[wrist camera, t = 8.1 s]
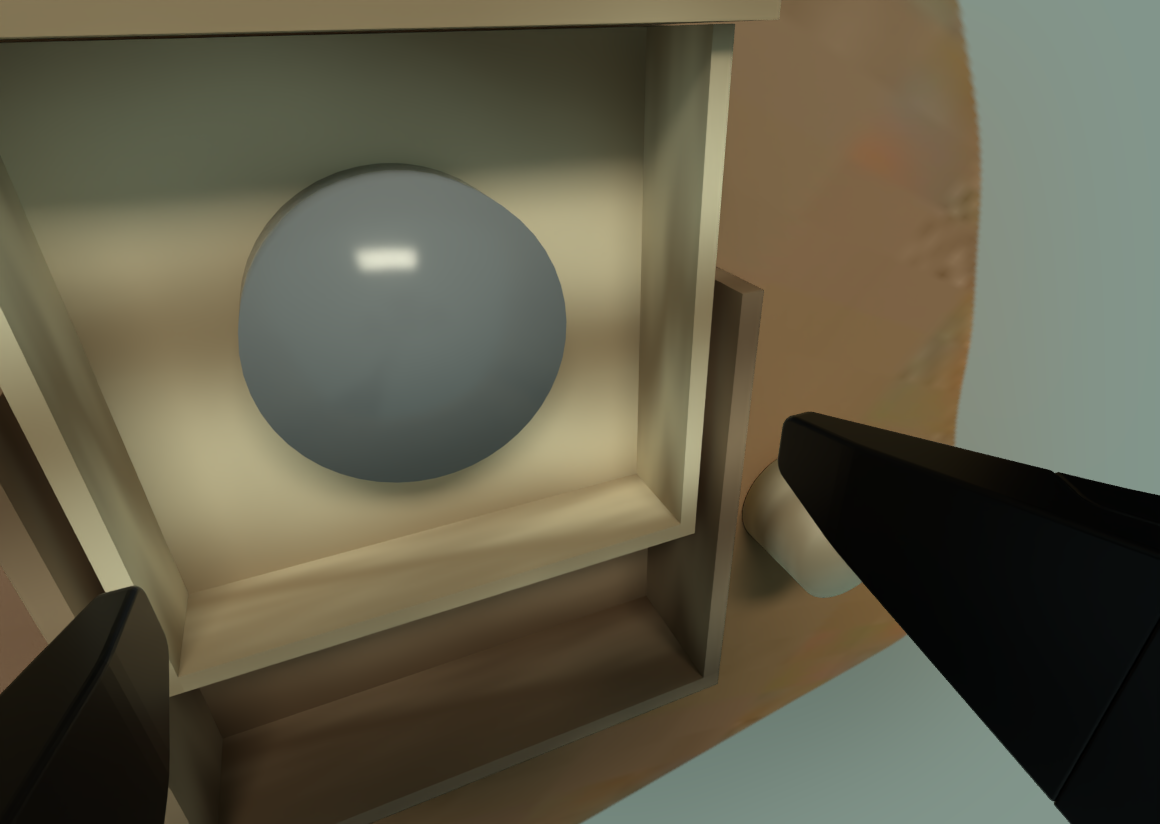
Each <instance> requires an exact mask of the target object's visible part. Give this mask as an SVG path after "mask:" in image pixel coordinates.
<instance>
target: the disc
mask: <svg viewBox="0 0 1160 824" xmlns="http://www.w3.org/2000/svg"><path fill="white" fill-rule="evenodd" d="M566 323H567V320H566V309H565V301H564V296H563V292H562V287H561V283H560V281H559V278H558V275H557V273H556V270H555V267H554V265H553V263H552V262H551V260H550V258H549V256H548V254H547V252H546V250H545V249H544V247H543V246H542V245H541V243H540V242H539V241H538V239H537V238H536V236H535V235H534V234H533V233H532V232H531V231H530V230H529V229H528V228H527V227H526V225H525V224H524V223H523V222H522V221H521V220H520V219H518V218H517V217H516V216H515V215H513V214H512V213H511V212H510V211H508V210H507V209H506V208H505V207H503V206H502V205H500V204H499V203H497V202H496V201H494V200H493V199H491V198H490V197H488V196H487V195H485V194H484V193H482V192H481V191H479V190H478V189H476V188H474V187H473V186H471V185H469V184H468V183H466V182H464V181H462V180H461V179H459V178H456V177H454V176H451V175H449V174H447V173H444V172H442V171H438V170H435V169H431V168H427V167H424V166H418V165H411V164H403V163H378V164H370V165H363V166H357V167H353V168H350V169H346V170H343V171H339V172H336V173H334V174H332V175H329V176H327V177H325V178H323V179H320V180H318V181H316V182H314V183H313V184H311V185H310V186H308V187H306V188H305V189H303V190H302V191H300V192H298V193H297V194H296V195H295V196H294V197H292V198H291V199H290V200H289V201H288V202H286V203H285V204H284V205H283V206H282V207H281V208H280V209H279V210H278V211H277V212H276V213H275V215H274V216H273V217H272V218H271V219H270V220H269V221H268V223H267V224H266V226H265V227H264V229H263V230H262V232H261V233H260V235H259V236H258V238H257V240H256V241H255V243H254V246H253V248H252V250H251V252H250V255H249V257H248V259H247V262H246V266H245V270H244V273H243V277H242V282H241V291H240V301H239V322H238V342H239V356H240V361H241V366H242V371H243V376H244V378H245V381H246V384H247V387H248V389H249V392H250V395H251V397H252V398H253V400H254V402H255V404H256V406H257V407H258V409H259V411H260V413H261V414H262V416H263V417H264V418H265V420H266V421H267V422H268V424H269V425H270V426H271V427H272V429H273V430H274V431H275V432H276V433H277V434H278V435H279V436H280V437H281V438H282V439H283V440H284V441H285V442H286V443H287V444H288V445H290V446H291V447H292V448H294V449H295V450H296V451H298V452H299V453H300V454H302V455H303V456H304V457H306V458H308V459H310V460H312V461H313V462H315V463H317V464H319V465H320V466H322V467H325V468H327V469H330V470H332V471H335V472H337V473H340V474H343V475H347V476H350V477H354V478H357V479H363V480H369V481H376V482H393V483H401V482H415V481H422V480H428V479H433V478H438V477H441V476H445V475H448V474H452V473H455V472H457V471H460V470H462V469H465V468H467V467H469V466H472V465H474V464H476V463H478V462H479V461H481V460H483V459H485V458H487V457H489V456H490V455H492V454H493V453H494V452H496V451H497V450H499V449H500V448H502V447H503V446H505V445H506V444H507V443H508V442H509V441H510V440H512V439H513V438H514V437H515V436H516V435H517V434H518V433H519V432H520V431H521V430H522V429H523V428H524V427H525V426H526V425H527V424H528V423H529V422H530V421H531V419H532V418H533V417H534V415H535V414H536V413H537V411H538V410H539V409H540V407H541V406H542V404H543V402H544V401H545V399H546V397H547V396H548V394H549V392H550V390H551V388H552V386H553V383H554V381H555V379H556V377H557V374H558V371H559V368H560V364H561V361H562V358H563V353H564V347H565V341H566Z"/></svg>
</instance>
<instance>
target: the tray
mask: <svg viewBox="0 0 1160 824" xmlns="http://www.w3.org/2000/svg"><path fill="white" fill-rule="evenodd" d="M780 7H781V0H0V40H11V39H53V38H94V37H136V36H178V35H220V34H261V33H303V32H345V31H386V30H428V29H470V28H512V27H553V26H595V25H637V24H678V23H704V22H729V21H755V20H779V17H780ZM734 30H735V24H708V25H679V26H650V27H611V28H572V29H532V30H493V31H453V32H413V33H374V34H334V35H295V36H255V37H215V38H176V39H136V40H96V41H57V42H17V43H0V387H1V389H2V391H3V393H4V395H5V397H6V399H7V401H8V403H9V405H10V407H11V409H12V411H13V413H14V415H15V416H16V418H17V420H18V422H19V424H20V426H21V428H22V430H23V432H24V434H25V436H26V438H27V440H28V442H29V444H30V446H31V448H32V450H33V452H34V454H35V456H36V458H37V460H38V461H39V463H40V465H41V467H42V469H43V471H44V473H45V475H46V477H47V479H48V481H49V483H50V485H51V487H52V489H53V491H54V493H55V495H56V497H57V499H58V501H59V503H60V504H61V506H62V508H63V510H64V512H65V514H66V516H67V518H68V520H69V522H70V524H71V526H72V528H73V530H74V532H75V534H76V536H77V538H78V540H79V542H80V544H81V546H82V548H83V549H84V551H85V553H86V555H87V557H88V559H89V561H90V563H91V565H92V567H93V569H94V571H95V573H96V575H97V577H98V579H99V581H100V583H101V585H102V587H103V589H104V591H105V592H110V591H114V590H117V589H121V588H125V587H129V586H134V585H135V586H139V587H141V588H142V589H143V590H144V591H145V593H146V595H147V597H148V599H149V601H150V603H151V605H152V607H153V609H154V611H155V614H156V616H157V618H158V620H159V622H160V624H161V626H162V628H163V631H164V633H165V635H166V639H167V643H168V649H169V697H171V696H174V695H177V694H180V693H184V692H187V691H190V690H193V689H197V688H200V687H203V686H206V685H209V684H213V683H216V682H219V681H222V680H225V679H229V678H232V677H235V676H238V675H241V674H245V673H248V672H251V671H254V670H257V669H261V668H264V667H267V666H270V665H273V664H277V663H280V662H283V661H286V660H289V659H293V658H296V657H299V656H302V655H305V654H309V653H312V652H315V651H318V650H321V649H325V648H328V647H331V646H334V645H337V644H341V643H344V642H347V641H350V640H354V639H357V638H360V637H363V636H366V635H370V634H373V633H376V632H379V631H382V630H386V629H389V628H392V627H395V626H398V625H402V624H405V623H408V622H411V621H414V620H418V619H421V618H424V617H427V616H430V615H434V614H437V613H440V612H443V611H446V610H450V609H453V608H456V607H459V606H462V605H466V604H469V603H472V602H475V601H478V600H482V599H485V598H488V597H491V596H495V595H498V594H501V593H504V592H507V591H511V590H514V589H517V588H520V587H523V586H527V585H530V584H533V583H536V582H539V581H543V580H546V579H549V578H552V577H555V576H559V575H562V574H565V573H568V572H571V571H575V570H578V569H581V568H584V567H587V566H591V565H594V564H597V563H600V562H603V561H607V560H610V559H613V558H616V557H619V556H623V555H626V554H629V553H632V552H635V551H639V550H642V549H645V548H648V547H652V546H655V545H658V544H661V543H664V542H668V541H671V540H674V539H677V538H680V537H684V536H687V535H690V534H693V533H695V522H696V509H697V497H698V484H699V472H700V459H701V446H702V434H703V421H704V409H705V396H706V383H707V371H708V358H709V345H710V333H711V320H712V308H713V295H714V282H715V270H716V257H717V245H718V232H719V219H720V207H721V194H722V182H723V169H724V156H725V144H726V131H727V119H728V106H729V93H730V81H731V68H732V56H733V43H734ZM378 163H403V164H411V165H418V166H424V167H427V168H431V169H435V170H438V171H442V172H444V173H447V174H449V175H451V176H454V177H456V178H459V179H461V180H462V181H464V182H466V183H468V184H469V185H471V186H473V187H474V188H476V189H478V190H479V191H481V192H482V193H484V194H485V195H487V196H488V197H490V198H491V199H493V200H494V201H496V202H497V203H499V204H500V205H502V206H503V207H505V208H506V209H507V210H508V211H510V212H511V213H512V214H513V215H515V216H516V217H517V218H518V219H520V220H521V221H522V222H523V223H524V224H525V225H526V227H527V228H528V229H529V230H530V231H531V232H532V233H533V234H534V235H535V236H536V238H537V239H538V241H539V242H540V243H541V245H542V246H543V247H544V249H545V250H546V252H547V254H548V256H549V258H550V260H551V262H552V263H553V265H554V267H555V270H556V273H557V275H558V278H559V281H560V283H561V287H562V292H563V296H564V301H565V309H566V320H567V323H566V341H565V347H564V353H563V358H562V361H561V364H560V368H559V371H558V374H557V377H556V379H555V381H554V383H553V386H552V388H551V390H550V392H549V394H548V396H547V397H546V399H545V401H544V402H543V404H542V406H541V407H540V409H539V410H538V411H537V413H536V414H535V415H534V417H533V418H532V419H531V421H530V422H529V423H528V424H527V425H526V426H525V427H524V428H523V429H522V430H521V431H520V432H519V433H518V434H517V435H516V436H515V437H514V438H513V439H512V440H510V441H509V442H508V443H507V444H506V445H505V446H503V447H502V448H500V449H499V450H497V451H496V452H494V453H493V454H492V455H490V456H489V457H487V458H485V459H483V460H481V461H479V462H478V463H476V464H474V465H472V466H469V467H467V468H465V469H462V470H460V471H457V472H455V473H452V474H448V475H445V476H441V477H438V478H433V479H428V480H422V481H415V482H401V483H393V482H376V481H369V480H363V479H357V478H354V477H350V476H347V475H343V474H340V473H337V472H335V471H332V470H330V469H327V468H325V467H322V466H320V465H319V464H317V463H315V462H313V461H312V460H310V459H308V458H306V457H304V456H303V455H302V454H300V453H299V452H298V451H296V450H295V449H294V448H292V447H291V446H290V445H288V444H287V443H286V442H285V441H284V440H283V439H282V438H281V437H280V436H279V435H278V434H277V433H276V432H275V431H274V430H273V429H272V427H271V426H270V425H269V424H268V422H267V421H266V420H265V418H264V417H263V416H262V414H261V413H260V411H259V409H258V407H257V406H256V404H255V402H254V400H253V398H252V397H251V395H250V392H249V389H248V387H247V384H246V381H245V378H244V376H243V371H242V366H241V361H240V356H239V342H238V322H239V301H240V291H241V282H242V277H243V273H244V270H245V266H246V262H247V259H248V257H249V255H250V252H251V250H252V248H253V246H254V243H255V241H256V240H257V238H258V236H259V235H260V233H261V232H262V230H263V229H264V227H265V226H266V224H267V223H268V221H269V220H270V219H271V218H272V217H273V216H274V215H275V213H276V212H277V211H278V210H279V209H280V208H281V207H282V206H283V205H284V204H285V203H286V202H288V201H289V200H290V199H291V198H292V197H294V196H295V195H296V194H297V193H298V192H300V191H302V190H303V189H305V188H306V187H308V186H310V185H311V184H313V183H314V182H316V181H318V180H320V179H323V178H325V177H327V176H329V175H332V174H334V173H336V172H339V171H343V170H346V169H350V168H353V167H357V166H363V165H370V164H378Z"/></svg>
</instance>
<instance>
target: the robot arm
mask: <svg viewBox="0 0 1160 824" xmlns="http://www.w3.org/2000/svg"><path fill="white" fill-rule="evenodd" d="M778 467H779V471H780V473H781V475H782V477H783V478H784V480H785V481H786V482H787V484H788V485H789V487H790V488H791V490H792V491H793V492H794V494H795V495H796V497H797V498H798V499H799V501H800V502H801V504H802V505H803V507H804V508H805V509H806V511H807V512H808V514H809V515H810V516H811V518H812V519H813V521H814V522H815V524H816V525H817V526H818V528H819V529H820V531H821V532H822V534H823V535H824V536H825V538H826V539H827V540H828V542H829V543H830V544H831V546H832V547H833V548H834V550H835V551H836V552H837V553H838V554H839V556H840V557H841V558H842V559H843V560H844V562H845V563H846V564H847V565H848V566H849V567H850V569H851V570H852V571H853V572H854V573H855V574H856V575H857V577H858V578H859V579H860V580H861V581H862V582H863V584H864V585H865V586H866V587H867V588H868V589H869V591H870V592H871V593H872V594H873V595H874V596H875V597H876V599H877V600H878V601H879V602H880V603H881V604H882V606H883V607H884V608H885V609H886V610H887V611H888V613H889V614H890V615H891V616H892V617H893V618H894V619H895V621H896V622H897V623H898V624H899V625H900V626H901V628H902V629H903V630H904V631H905V632H906V633H907V635H908V636H909V637H910V638H911V639H912V640H913V641H914V643H915V644H916V645H917V646H918V647H919V648H920V650H921V651H922V652H923V653H924V654H925V655H926V656H927V658H928V659H929V660H930V661H931V662H932V663H933V665H934V666H935V667H936V668H937V669H938V670H939V671H940V673H941V674H942V675H943V676H944V677H945V678H946V680H947V681H948V682H949V683H950V684H951V685H952V686H953V688H954V689H955V690H956V691H957V692H958V694H959V695H960V696H961V697H962V698H963V699H964V700H965V701H966V703H967V704H968V705H969V706H970V707H971V709H972V710H973V711H974V712H975V713H976V714H977V715H978V717H979V718H980V719H981V720H982V721H983V722H984V724H985V725H986V726H987V727H988V728H989V729H990V731H991V732H992V733H993V734H994V735H995V736H996V738H997V739H998V740H999V741H1000V742H1001V743H1002V744H1003V746H1004V747H1005V748H1006V749H1007V750H1008V751H1009V753H1010V754H1011V755H1012V756H1013V757H1014V758H1015V759H1016V761H1017V762H1018V763H1019V764H1020V765H1021V766H1022V768H1023V769H1024V770H1025V771H1026V772H1027V773H1028V774H1029V776H1030V777H1031V778H1032V779H1033V780H1034V782H1035V783H1036V784H1037V785H1038V786H1039V787H1040V788H1041V790H1042V791H1043V792H1044V793H1045V794H1046V795H1047V797H1048V798H1049V799H1050V800H1051V801H1054V805H1055V806H1056V808H1057V809H1058V810H1059V811H1060V812H1061V813H1062V815H1063V816H1064V817H1065V818H1066V819H1067V820H1068V822H1069V823H1070V824H1160V495H1155V494H1151V493H1146V492H1141V491H1136V490H1132V489H1127V488H1123V487H1119V486H1115V485H1110V484H1106V483H1102V482H1097V481H1093V480H1089V479H1084V478H1080V477H1076V476H1072V475H1068V474H1064V473H1060V472H1057V473H1054V472H1052V471H1051V470H1048V469H1043V468H1039V467H1035V466H1031V465H1027V464H1023V463H1019V462H1015V461H1010V460H1006V459H1002V458H999V457H994V456H990V455H986V454H982V453H978V452H974V451H970V450H966V449H962V448H958V447H954V446H950V445H946V444H942V443H937V442H933V441H929V440H925V439H921V438H917V437H913V436H909V435H905V434H901V433H897V432H893V431H889V430H884V429H880V428H876V427H872V426H868V425H864V424H860V423H856V422H852V421H848V420H844V419H840V418H836V417H831V416H827V415H823V414H819V413H815V412H804V413H801V414H797V415H793V416H790V417H788V418H787V419H786V420H785V422H784V423H783V427H782V434H781V441H780V447H779V454H778ZM169 775H170V712H169V649H168V643H167V639H166V635H165V633H164V631H163V628H162V626H161V624H160V622H159V620H158V618H157V616H156V614H155V611H154V609H153V607H152V605H151V603H150V601H149V599H148V597H147V595H146V593H145V591H144V590H143V589H142V588H141V587H139V586H135V585H134V586H129V587H125V588H121V589H117V590H114V591H110V592H106V593H102V594H100V595H98V596H96V597H95V598H94V599H93V600H92V601H91V602H90V603H89V604H88V605H87V606H86V607H85V608H84V609H83V610H82V611H81V612H80V613H79V614H78V615H77V616H76V617H75V618H74V619H73V620H72V621H71V622H70V623H69V624H68V625H67V626H66V627H65V628H64V629H63V630H62V631H61V632H60V633H59V634H58V635H57V637H56V638H55V639H54V640H53V641H52V642H51V643H50V644H49V645H48V646H47V647H46V648H45V649H44V650H43V651H42V652H41V653H40V654H39V655H38V656H37V657H36V658H35V659H34V660H33V661H32V662H31V663H30V664H29V665H28V666H27V667H26V668H25V669H24V670H23V671H22V672H21V673H20V674H19V676H18V677H17V678H16V679H15V680H14V681H13V682H12V683H11V684H10V685H9V686H8V687H7V688H6V689H5V690H4V691H3V692H2V693H1V694H0V824H164V822H165V814H166V805H167V797H168V786H169Z"/></svg>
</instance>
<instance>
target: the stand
mask: <svg viewBox="0 0 1160 824" xmlns="http://www.w3.org/2000/svg"><path fill="white" fill-rule="evenodd" d="M742 516H743V523H744V526H745V528H746V530H747V532H748V533H749V534H750V535H751V536H752V537H753V538H754V539H755V540H756V541H757V542H758V543H759V544H760V545H761V546H762V547H763V548H764V549H765V550H766V551H767V552H768V553H769V554H770V555H771V556H772V557H773V558H774V559H775V560H776V561H777V562H778V563H779V564H780V565H781V566H782V567H783V568H784V569H785V570H786V571H787V572H788V573H789V574H790V575H791V576H792V577H793V578H794V579H795V580H796V581H797V582H798V583H799V584H800V585H801V586H802V587H803V588H804V589H805V590H806V591H807V592H808V593H809V594H811V595H813V596H816V597H822V598H825V597H832V596H836V595H839V594H842V593H844V592H847V591H849V590H850V589H852V588H854V587H855V586H857V585H859V584H860V583H861V582H862V581H861V580H860V579H859V578H858V577H857V575H856V574H855V573H854V572H853V571H852V570H851V569H850V567H849V566H848V565H847V564H846V563H845V562H844V560H843V559H842V558H841V557H840V556H839V554H838V553H837V552H836V551H835V550H834V548H833V547H832V546H831V544H830V543H829V542H828V540H827V539H826V538H825V536H824V535H823V534H822V532H821V531H820V529H819V528H818V526H817V525H816V524H815V522H814V521H813V519H812V518H811V516H810V515H809V514H808V512H807V511H806V509H805V508H804V507H803V505H802V504H801V502H800V501H799V499H798V498H797V497H796V495H795V494H794V492H793V491H792V490H791V488H790V487H789V485H788V484H787V482H786V481H785V480H784V478H783V477H782V475H781V473H780V471H779V467H778V459H777V460H775V461H774V462H773V463H771V464H770V465H769V466H768V467H767V468H766V469H765V470H764V471H763V472H762V473H761V474H760V475H759V476H758V478H757V479H756V480H755V482H754V483H753V485H752V486H751V488H750V490H749V492H748V494H747V496H746V499H745V502H744V506H743V515H742Z"/></svg>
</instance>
